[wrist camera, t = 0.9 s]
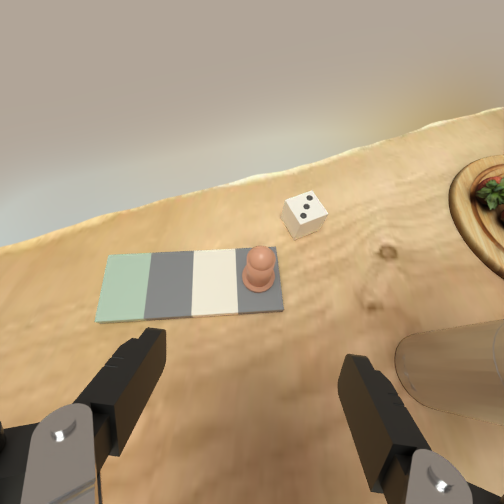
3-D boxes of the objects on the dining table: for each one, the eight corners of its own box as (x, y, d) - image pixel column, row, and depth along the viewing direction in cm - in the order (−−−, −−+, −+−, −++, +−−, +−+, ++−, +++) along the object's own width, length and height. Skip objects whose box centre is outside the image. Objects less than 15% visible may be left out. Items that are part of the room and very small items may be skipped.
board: (274, 250, 39) (275, 246, 38) (282, 311, 35) (283, 309, 33) (113, 258, 37) (108, 254, 36) (100, 323, 33) (94, 321, 32)
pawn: (272, 261, 36) (279, 234, 29) (275, 292, 34) (285, 271, 27) (241, 263, 36) (240, 236, 28) (243, 294, 34) (242, 273, 26)
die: (305, 208, 43) (312, 190, 38) (319, 230, 41) (328, 213, 36) (280, 217, 42) (285, 199, 37) (294, 240, 40) (300, 224, 35)
